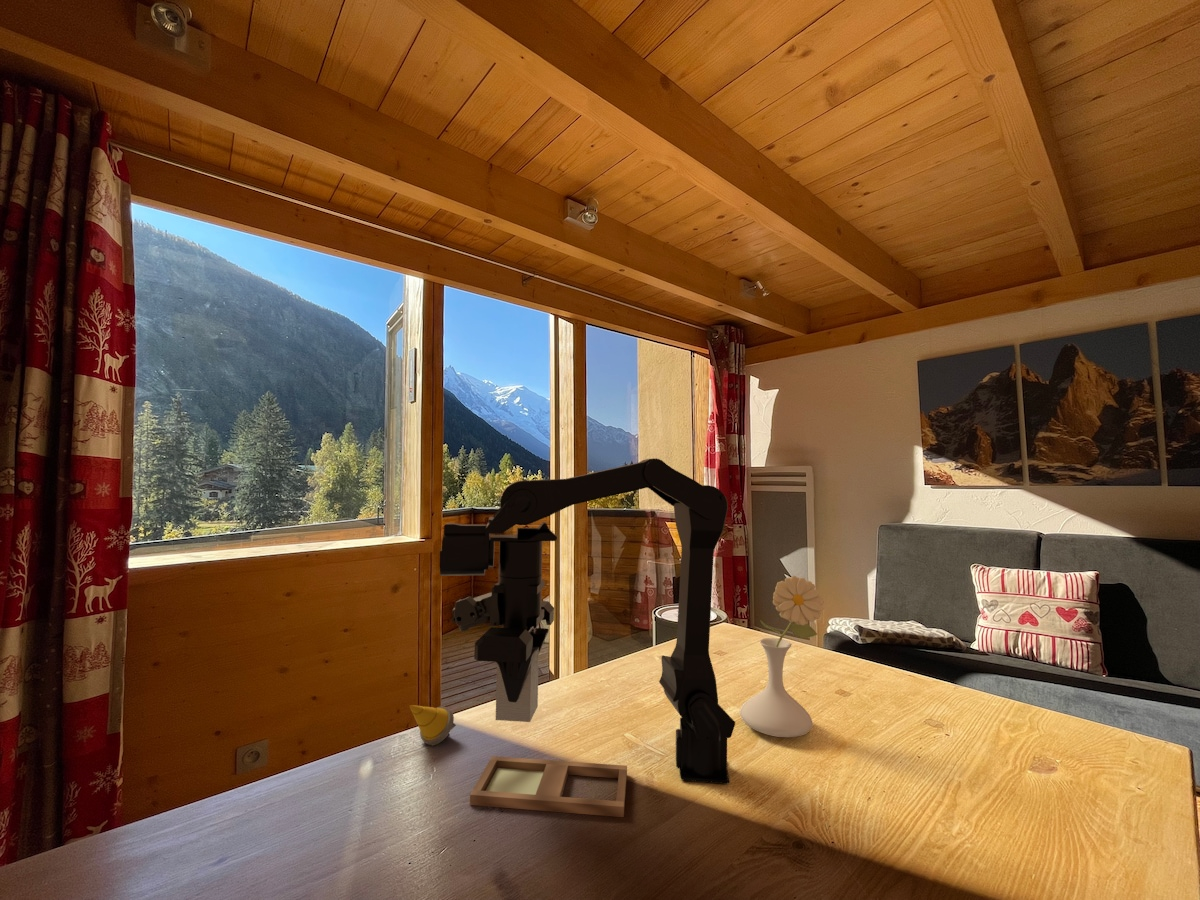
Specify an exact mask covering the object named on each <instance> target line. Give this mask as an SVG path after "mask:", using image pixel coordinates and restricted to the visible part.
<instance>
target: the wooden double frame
mask: <svg viewBox="0 0 1200 900" xmlns="http://www.w3.org/2000/svg"><path fill="white" fill-rule="evenodd" d="M568 775H570V776H584V777H596V778H597V777H598V778H609V779H618V780H617V788H616V798H615V800H608V799H594V798H583V797H581V798H579V797H571V796H570V797H568V796H563V794H564V791H565V786H566V783H567V780H568ZM627 777H628V765H621V764H608V763H607V764H606V763H595V762H582V761H567V760H566V761H565V760H552V759H536V758H523V757H511V756H510V757H509V756H495V755H492V756H491V757H490V759H489V760H488V762H487V764H486V766H485V768H484V769H483V771H482V773H481V775H480V776H479V778H478V780H477V782H475V783H476V784H474V785H475V786H474V787H473V788H472V791H471V792H470V794H469V805H470V806H481V807H492V808H506V809H507V808H508V809H517V810H528V811H529V810H531V811H542V812H543V811H544V812H552V813H553V812H557V813H568V814H581V815H592V816H593V815H594V816H605V817H615V818H617V817H619V818H624V817H625V805H626V804H625V803H626V801H625V800H626V792H627V781H628V780H627Z"/></svg>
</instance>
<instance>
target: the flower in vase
mask: <svg viewBox="0 0 1200 900" xmlns="http://www.w3.org/2000/svg"><path fill="white" fill-rule="evenodd" d="M772 599H773V600H772V604H773V606H775V610H776V611H777V612H779V616H780V618H782V619H785V620H786V621H788V622H789V624H788V625H787V627H786V628H785V630H784V631H783V633H781V632H780V631H779V629H776V628H775V627H773V626H770V625H768V624H766V623H765V622H764V621H762V620H761V619H760V623H761V625H762V627H764V628H766V629H768V630H770V631H773V632H775V633H777V634H778V635H780V637H779V638H777V637H776V638H775V637H764V638H762V639H759V644H761V646H762V648H763V649H764V652H765V657H766V660H767V668H768V671H767V672H768V679H767V684H766V686H765V688H763V689H762V690H761V691H759V692H758V693H756V694H754V695H753V696H752V697H749V698H748V699H747V700H746V701H745V702H744V703H743V704H741V707H740V710H739V716H740V718H741V720H742V721H743V722H744V723H745V725H747V726H748V727H749V728H751V729H753V730H754V731H757V732H759V733H762V734H764V735H768V736H772V737H778V738H795V737H801V736H803V735H806V734H808V733H809V732H810V731H811V730H812V728H813V726H814V723H813V719H812V717H811V715H810V713H809V712H808V711H807V710H806V708H805V707H803V705H802V704H800V702H798V701H797V700H796V699H795V698H794V697H792V696H791V694H789V693H788V692H787V690H786V689H785V685H784V681H783V680H784V678H783V669H784V663H785V662H784V661H785V658H786V656H787V655H786V654H787V653H788V651H789V650H790V648H791V647H792V643H791V642H790V641H788V640H785V639H783V638H784V636H785V635H786V634H787V632H788V630H789V629H790V630H791V631H792V632H793V633H794V634H795V636H796V637H798V638H800V639H808V638H812V637H815V636H817V635H818V633H817V631H815V629H814V628H813V627H812V626H811V625H809V622H811V623H812V622H815V621H816V620H817V619H818V620H819V619H820V618H821V612H822V611H823V609H824V608H823V604H824V598H823V596H822V595H820V591H819V590H818V589H816V585H815V584H814V583H813V582H812V581H810V580H806V578H804V577H797V575H792V576H791V577H786V578H784V580H781V581H777V583H776V586H775V591H774V592H773V596H772ZM793 622H794V623H793Z"/></svg>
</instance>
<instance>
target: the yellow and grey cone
mask: <svg viewBox="0 0 1200 900" xmlns="http://www.w3.org/2000/svg"><path fill="white" fill-rule="evenodd" d="M408 707H409V708H410V711H411V713H412V715H413V717H414V720H415V722H416V724H417V726H418V728H419V736H420V739H421V741H422V742H424V743H425V744H427V745H429V746H435V745H438V744H440V743H441V742H442V741H444V740H445V739H446V738H447V736H449V735H450V732H451V731H452V730H453V729H454V728H455V727H456V726H457V724H455V723H454V721H455V720H454V719H455V718H454V713H453V711H452V710H451V709H449V708H448V707H447V706H443V705H442V706H441V705H440V706H438V707H432V706H424V705H414V704H411V705H410V704H409V705H408Z"/></svg>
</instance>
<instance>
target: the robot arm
mask: <svg viewBox="0 0 1200 900" xmlns="http://www.w3.org/2000/svg"><path fill="white" fill-rule="evenodd" d="M643 489H649V490H650V491H652V492H653V493H654V494H655V495H657V496H658V497H659V498H661V499H662V500H663V501H665V502H666V503H667V504H669V505H671V506H673V511H674V519H675V520H674V521H675V522H674V523H675V526H676V530H677V535H678V537H679V541H680V545H681V546H680V547H681V555H680V571H679V573H680V575H679V588H678V589H679V593H678V608H677V609H678V610H677V627H676V628H677V629H676V642H675V647H674V649H673V651H672V653H671V654H670V656H667V655H664V654H663V655H662V656H661V658H660V659H661V668H662V669H661V677H660V679H659V681H658V682H659V684H660V686H661V687H662V688H663V692H664V695H665V696H666V698H667V699H668V701H669V702H670V703H671V705H672V706H673V707H674V709H675V711H677V713H678V714H679V716H680V718H679V728H677V729H676V730H675V764H676V768H677V769H679V777H680V778H679V779H681V781H684V782H685V781H686V782H689V781H690V782H701V783H712V784H713V783H714V784H726V785H727V784H729V783H730V775H729V772H728V739H730V738H731V737H732V735H733V732H734V729H735V726H736V721H735V720H734V719H733V718H732V717H731V716H730V715H729V714H728V713H727V711H726V710H724V708H723V707H722V706H721V705H720V704H719V697H718V695H719V694H718V686H717V679H716V675H715V671H714V667H713V663H712V660H711V657H710V656H711V655H710V651H709V650H710V633H711V632H710V631H711V614H712V597H713V595H712V594H713V593H712V592H713V591H712V590H713V575H714V573H713V572H714V558H715V557H714V556H715V554H714V553H715V550H716V547H717V545H718V544H719V541H720V538H721V536H722V535H723V533H724V528H725V523H726V521H727V520H726V519H727V515H728V510H729V506H728V505H729V504H728V499H727V496H726V495H725V494H724V492H722V491H721V489H719V488H717V487H716V486H713V485H706V484H705V485H704V484H700V483H699V482H698V481H697V480H695V479H693V478H691V477H689V476H688V475H686V474H684V473H682V472H680V471H678V470H676V469H674V468H672V467H671V466H669V465H668V464H667V463H665V461H663V460H662V459H659V458H647V459H646V458H645V459H643V460H641V461H639V462H635V463H632V464H627V465H622V466H618V467H613V468H609V469H604V470H599V471H595V472H590V473H585V474H580V475H576V476H571V477H568V478H558V479H557V478H555V479H550V478H549V479H533V480H532V479H530V480H528V479H527V480H525V479H524V480H517V481H514V482H512V483H510V484H509V485H507V486H506V487H505V489H504V490H503V492H502V494H501V497H500V507H499V508H498V510H497V511H496V512H495V513H494V515H493V516H489V518H488V522H487V524H471V523H470V524H469V523H468V524H466V523H465V524H464V523H463V524H461V523H457V522H446V523H445V524H444V526H443V535H442V541H441V549H440V550H439V574H440V576H442V577H443V576H444V577H447V576H448V577H449V576H451V577H452V576H453V577H455V576H456V577H458V576H459V577H460V576H461V577H462V576H463V577H464V576H485V575H486V571H488V570H489V568H494V565H495V542H499V543H498V545H499V548H498V549H499V552H498V553H499V554H498V582H496V583H495V584H494V585H493V586H492V588H491V591H490V592H488V593H484V594H482V595H479V596H475V597H472V596H471V595H469V596H467V597H465V598H460V599H458V600H457V601H455V605H454V607H453V609H452V610H451V611H452V617H451V622H452V623H453V624H456V625H457V626H458V628H459V631H460V632H461V633H462V632H465V631H468V630H469V629H470V628H474V627H475V626H478V625H482V624H485V623H487V622H489V627H490V628H489V629H487V630H486V632H485V633H483V634H482V635H481V636H480V637H479V638H478V639H477V640H476V641H475V642H474V656H473V657H474V660H475V661H477V662H492V663H493V662H495V663H496V665H497V664H498V665H499V668H500V671H501V675H502V679H503V682H504V686H505V690H506V694H507V698H508V701H509V702H517V700H518V698H519V695H520V693H521V690H522V687H523V684H524V682H525V679H526V676H527V673H528V671H529V668H530V665H531V663H532V660H533V657H534V654H535V652H536V649H533V648H532V646H533V647H539V654H541V650H542V648H543V646H544V643H545V640H547V639H546V638H547V636H548V633H549V632H550V631H549V630H550V629H549V628H545V627H544V628H542V627H540V623H541V622H542V621H545V624H546V626H551V625H552V624H553V622H554V620H555V607H554V606H553V605H552V604H551V603H550V601H548V600H547V601H546V600H545V601H544V600H542V590H543V589H544V588H545V586H546V585H545V582H546V579H545V578H544V579H543V578H542V577H543V576H542V575H543V574H542V573H543V542H556V541H557V539H558V536H557V535H556V534H555V533H554V532H553V531H552V530H551V529H550V528H549V526H548V524H547V523H546V521H542V523H540V525H539V526H538V527H517V528H516V534H503V533H505V532H507V531H508V530H510V529H511V528H513V527H514V526H516V525H518V526H527V525H531V524H533V523H536V522H538V521H541V520H542V519H545V518H547V517H550V516H552V515H554V514H556V513H558V512H560V511H562V510H564V509H566V508H569V507H571V506H573V505H578V504H582V503H585V502H590V501H595V500H596V501H597V500H599V499H603V498H608V497H612V496H617V495H621V494H626V493H630V492H634V491H639V490H643ZM500 626H502V627H500Z"/></svg>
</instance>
